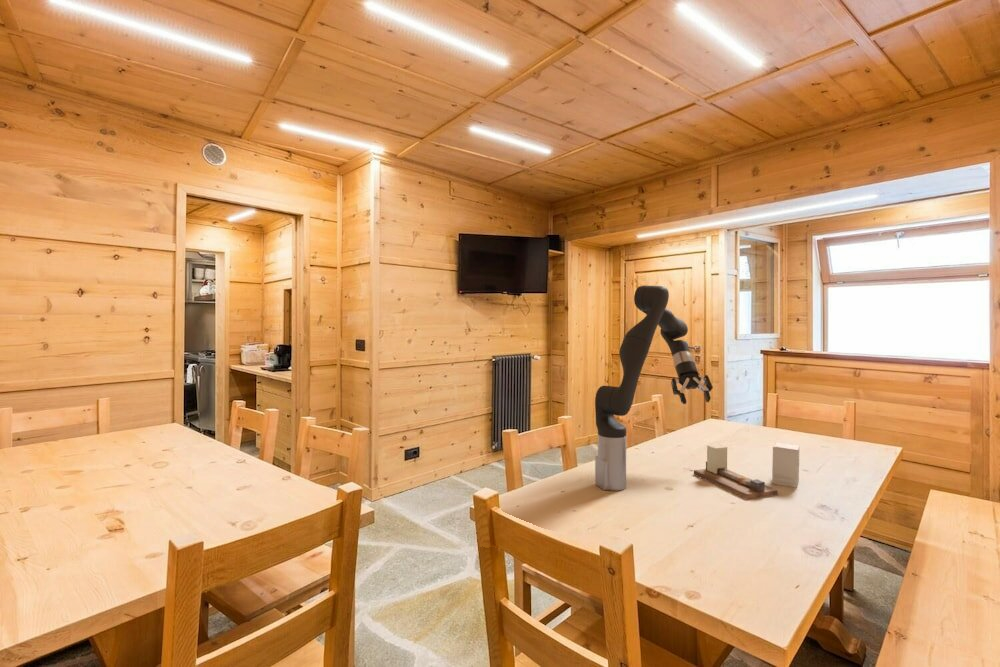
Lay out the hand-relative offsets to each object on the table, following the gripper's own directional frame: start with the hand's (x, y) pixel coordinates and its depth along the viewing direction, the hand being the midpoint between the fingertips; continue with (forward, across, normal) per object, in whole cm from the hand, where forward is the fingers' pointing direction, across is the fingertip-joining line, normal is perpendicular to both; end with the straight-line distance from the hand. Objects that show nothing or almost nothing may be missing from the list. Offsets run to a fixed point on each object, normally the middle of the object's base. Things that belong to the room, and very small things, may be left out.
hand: (696, 402), depth 174 cm
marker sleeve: (+25, +1, +3) cm, 25 cm away
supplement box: (+31, +21, +2) cm, 38 cm away
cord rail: (+31, +3, -1) cm, 31 cm away
